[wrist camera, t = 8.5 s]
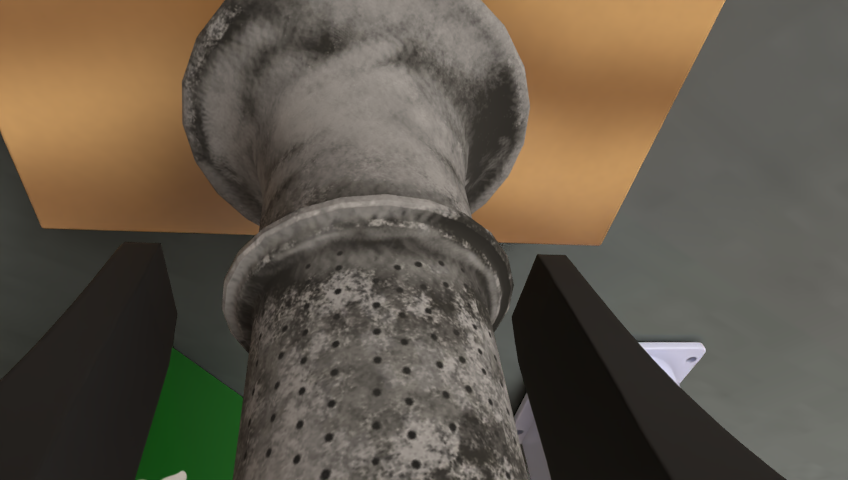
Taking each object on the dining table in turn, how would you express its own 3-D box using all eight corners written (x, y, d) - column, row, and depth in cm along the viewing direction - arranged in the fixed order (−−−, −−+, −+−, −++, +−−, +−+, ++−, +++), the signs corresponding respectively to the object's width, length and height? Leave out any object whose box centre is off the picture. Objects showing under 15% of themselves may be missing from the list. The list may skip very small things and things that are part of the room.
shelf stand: (573, 186, 20) (617, 282, 17) (77, 161, 17) (18, 272, 14) (762, -263, 12) (917, -239, 9) (-129, -453, 9) (-381, -518, 6)
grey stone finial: (152, 22, 12) (-339, 952, 3) (372, -197, 10) (650, 848, 1) (347, 189, 15) (360, 833, 7) (539, 56, 13) (906, 755, 5)
